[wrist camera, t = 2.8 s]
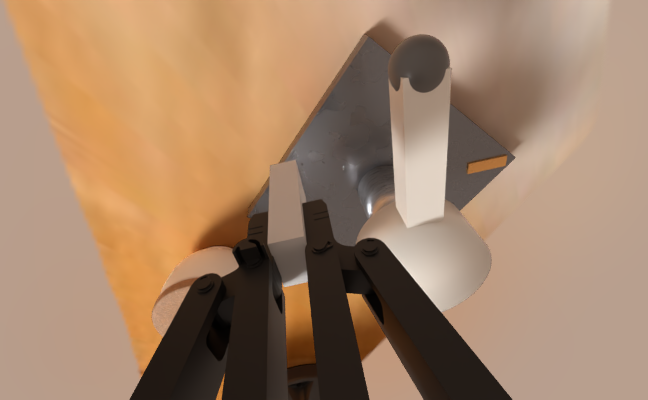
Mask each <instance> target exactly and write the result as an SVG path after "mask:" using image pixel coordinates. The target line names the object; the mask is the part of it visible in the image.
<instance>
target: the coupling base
mask: <svg viewBox="0 0 648 400" xmlns="http://www.w3.org/2000/svg"><path fill="white" fill-rule="evenodd" d="M390 57H391V54H389V53H388V52H387V51H386V50H384V49H383V48H382V47H381V46H380V45H378V44H377V43H376V42H375V41H374V40H372V39H371V38H370V37H369V36H367V35H365V34H364V35H363V36H362V38H361V39H360V41H359V42H358V44H357V45H356V47H355V48H354V50H353V51H352V53H351V54H350V56H349V58H348V59H347V61H346V62H345V64H344V65H343V67H342V68H341V70H340V71H339V73H338V74H337V76H336V77H335V79H334V80H333V82H332V83H331V85H330V86H329V88H328V89H327V91H326V92H325V94H324V95H323V97H322V98H321V100H320V101H319V103H318V104H317V106H316V107H315V109H314V110H313V112H312V113H311V115H310V116H309V118H308V119H307V121H306V122H305V124H304V125H303V127H302V128H301V130H300V131H299V133H298V134H297V136H296V137H295V139H294V140H293V142H292V143H291V145H290V146H289V148H288V150H287V151H286V153H285V154H284V156H283V157H282V159H281V160H280V162H279V163H283V162H288V161H293V160H296V163H297V167H298V171H299V174H300V178H301V182H302V186H303V190H304V193H305V197H306V202H310V201H314V200H319V199H322V200H323V201H324V202H325V203H326V204H327V209H328V213H329V218H330V222H331V227H332V231H333V236H334V238H335V240H336V241H337V242H338V243H340V244H342V245H345V246H355V245H356V240H357V237H358V234H359V232H360V230H361V229H362V227H363V225H364V224H365V223H366V222H367V220H368V219H369V218H370V217H371V216H372V215H373V214H375V213H376V212H377V211H378V210H380V209H381V208H383V207H384V206H386V205H388V204H390V203H392V202H394V201H396V200H395V183H394V166H393V148H392V131H391V113H390V96H389V78H388V63H389V60H390ZM515 158H516V157H515V156H513V155H512V154H511V153H510V152H509V151H507V150H506V149H505V148H504V147H502V146H501V145H500V144H499V143H498V142H496V141H495V140H494V139H493V138H492V137H490V136H489V135H488V134H487V133H485V132H484V131H483V130H482V129H481V128H479V127H478V126H477V125H476V124H474V123H473V122H472V121H471V120H470V119H468V118H467V117H466V116H465V115H464V114H462V113H461V112H460V111H459V110H457V109H456V108H455V107H454V106H453V105H451V104H450V112H449V130H448V148H447V166H446V184H445V199H446V200H447V201H449V202H451V203H452V204H454V205H455V206H456V207H457V208H458V210H459V211H460V210H461V209H462V208H463V207H464V206H465V205H466V204H467V203H469V202H470V201H471V200H472V199H473V198H474V197H475V196H476V195H477V194H478V193H479V192H480V191H481V190H482V189H483V188H484V187H485V186H486V185H487V184H489V183H490V182H491V181H492V180H493V179H494V178H495V177H496V176H497V175H498V174H499V173H500V172H501V171H502V170H503V169H504V168H505V167H506V166H508V165H509V164H510V163H511V162H512V161H513V160H514V159H515ZM279 163H278V164H279ZM269 182H270V177H269V178H268V180H267V181H266V183H265V184H264V186H263V187H262V189H261V190H260V192H259V193H258V195H257V196H256V198H255V199H254V201H253V202H252V204H251V205H250V207H249V208H248V216H247V217H248V218H252V216H253V215H254V214H258V213H263V212H267V211H269Z"/></svg>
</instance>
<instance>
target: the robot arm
mask: <svg viewBox="0 0 648 400" xmlns="http://www.w3.org/2000/svg"><path fill="white" fill-rule="evenodd" d="M232 253H233V255H234V257H235V259H236V261H237V263H238V265H239V267H238V268H237V269H236V270H235V271H233V272H231V273H229V274H227V275H225V276H223V277H220V276H219V275H218V274H215V273H209V274H205V275H203V276H201V277H199V278H198V279H197V280H195V281H194V283H193V284H192V285H191V287H190V289H189V290H188V292H187V294H186V296H185V298H184V300H183V302H182V303H181V305H180V307H179V309H178V311H177V313H176V315H175V316H174V318H173V320H172V322H171V324H170V326H169V327H168V329H167V331H166V333H165V335H164V337H163V339H162V340H161V342H160V344H159V346H158V348H157V350H156V352H155V353H154V355H153V357H152V359H151V361H150V363H149V365H148V366H147V368H146V370H145V372H144V374H143V376H142V377H141V379H140V381H139V383H138V385H137V387H136V389H135V390H134V393H133V394H132V396H131V398H130V400H216V397H217V394H218V391H219V388H220V385H221V382H222V379H223V377H224V374H225V378H224V385H223V393H222V400H369V395H368V391H367V386H366V381H365V377H364V372H363V368H362V363H361V359H360V354H359V349H358V345H357V340H356V336H355V331H354V327H353V322H352V317H351V313H350V308H349V304H348V299H347V295H346V293H354V294H362V297H363V298H364V300H365V302H366V303H367V305H368V307H369V309H370V310H371V312H372V314H373V315H374V317H375V319H376V320H377V322H378V324H379V325H380V327H381V329H382V330H383V332H384V334H385V335H386V337H387V339H388V340H389V342H390V344H391V345H392V347H393V349H394V350H395V352H396V354H397V355H398V357H399V359H400V360H401V362H402V364H403V365H404V367H405V369H406V370H407V372H408V374H409V375H410V377H411V379H412V381H413V382H414V384H415V385H416V387H417V389H418V390H419V392H420V394H421V396H422V397H423V399H424V400H512V398H511V397H510V396H509V395H508V394H507V392H506V391H505V390H504V389H503V388H502V386H501V385H500V384H499V383H498V381H497V380H496V379H495V378H494V376H493V375H492V374H491V373H490V372H489V370H488V369H487V368H486V367H485V365H484V364H483V363H482V362H481V361H480V359H479V358H478V357H477V356H476V354H475V353H474V352H473V351H472V350H471V348H470V347H469V346H468V345H467V343H466V342H465V341H464V340H463V339H462V337H461V336H460V335H459V334H458V332H457V331H456V330H455V329H454V328H453V326H452V325H451V324H450V323H449V321H448V320H447V319H446V318H445V317H444V316H443V314H442V313H441V312H440V310H439V309H438V308H437V307H436V305H435V304H434V303H433V302H432V301H431V299H430V298H429V297H428V296H427V294H426V293H425V292H424V291H423V290H422V288H421V287H420V286H419V285H418V283H417V282H416V281H415V280H414V279H413V277H412V276H411V275H410V274H409V272H408V271H407V270H406V269H405V268H404V266H403V265H402V264H401V263H400V261H399V260H398V259H397V258H396V257H395V255H394V254H393V253H392V252H391V250H390V249H389V248H388V247H387V246H386V244H385V243H384V242H382V241H381V240H379V239H376V238H366V239H362V240H361V241H359V242H357V244H356V245H355V246H345V245H342V244H340V243H338V242H337V241H336V240H335V238H334V236H333V231H332V227H331V222H330V218H329V213H328V209H327V204H326V203H325V202H324V201H323V200H322V199H319V200H314V201H310V202H306V197H305V193H304V190H303V186H302V182H301V178H300V174H299V171H298V167H297V163H296V160H293V161H288V162H283V163H279V164H274V165H270V182H269V211H267V212H263V213H258V214H254V215H253V216H252V218H251V219H250V221H249V226H248V236H247V238H246V239H243V240H242V241H240V242H239V243H237V244H236V245H235V247H234V248H233V251H232ZM282 282H283V285H284V287H287V286H292V285H296V284H301V283H305V282H308V287H309V297H310V307H311V317H312V327H313V336H314V346H315V356H316V364H311V365H302V366H297V367H293V368H290V369H287V353H286V320H285V296H284V293H283V290H282Z"/></svg>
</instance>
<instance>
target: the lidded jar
mask: <svg viewBox="0 0 648 400" xmlns="http://www.w3.org/2000/svg"><path fill="white" fill-rule="evenodd" d="M232 251H233V248H230V247H226V246H213V247H208V248H206V249H203V250H199V251H197V252H194V253H192V254H191V255H189V256H187V257H186V258H184V259H183V260H182V261H181V262H180V263H179V264H178V265H177V266H176V267H175V268H174V269H173V271H172V272H171V274H170V275H169V277H168V278H167V280H166V282H165V284H164V286H163V288H162V290H161V293H160V296H159V297H158V299H157V300H156V303H155V305H154V308H153V311H152V321H153V324H154V326H155V328H156V330H157V331H158V333H159V334H160V335H161V336H163V337H164V335H165V333H166V331H167V329H168V327H169V326H170V324H171V322H172V320H173V318H174V316H175V315H176V313H177V311H178V309H179V307H180V305H181V303H182V302H183V300H184V298H185V296H186V294H187V292H188V290H189V289H190V287H191V285H192V284H193V283H194V281H195V280H197V279H198V278H199V277H201V276H203V275H205V274H209V273H215V274H218V275H219V276H220V277H223V276H225V275H227V274H229V273H231V272H233V271H235V270H236V269H237V268H238V267H239V265H238V263H237V261H236V259H235V257H234V255H233V253H232Z"/></svg>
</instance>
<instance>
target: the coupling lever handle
mask: <svg viewBox="0 0 648 400" xmlns="http://www.w3.org/2000/svg"><path fill="white" fill-rule="evenodd" d="M451 75H452V68H451V67H450V59H449V54H448V51H447V49H446V47H445V46H444V45H443V44H442V42H441V41H439V40H438V39H436V38H435V37H433V36H430V35H415V36H411V37H409V38H407V39H405V40H404V41H402V42H401V43H400V44H399V45H398V46H397V47H396V48H395V50H394V51H393V53H392V55H391V57H390V60H389V63H388V78H389V96H390V113H391V131H392V148H393V166H394V183H395V200H396V201H394V202H392V203H390V204H388V205H386V206H384V207H383V208H381V209H380V210H378V211H377V212H376V213H375V214H373V215H372V216H371V217H370V218H369V219H368V220H367V222H366V223H365V224H364V225H363V227H362V229H361V230H360V232H359V234H358V237H357V240H356V244H357V242H359V241H361V240H362V239H366V238H376V239H379V240H381V241H382V242H384V243H385V244H386V246H387V247H388V248H389V249H390V250H391V252H392V253H393V254H394V255H395V257H396V258H397V259H398V260H399V261H400V263H401V264H402V265H403V266H404V268H405V269H406V270H407V271H408V272H409V274H410V275H411V276H412V277H413V279H414V280H415V281H416V282H417V283H418V285H419V286H420V287H421V288H422V290H423V291H424V292H425V293H426V294H427V296H428V297H429V298H430V299H431V301H432V302H433V303H434V304H435V305H436V307H437V308H438V309H439V310H440V312H443V311H446V310H448V309H450V308H452V307H455V306H456V305H458V304H459V303H461V302H463V301H464V300H466V299H467V298H469V297H470V296H471V295H472V294H473V293H474V292H475V291H476V290H477V289H478V288H479V287H480V286H481V285H482V284H483V282H484V281H485V279H486V277H487V275H488V273H489V271H490V268H491V261H492V259H491V253H490V250H489V248H488V246H487V244H486V243H485V242H484V241H483V239H482V238H481V237H480V236H479V234H478V233H477V232H476V231H475V229H474V228H473V227H472V226H471V224H470V223H469V222H468V221H467V219H466V218H465V217H464V216H463V215H462V213H461V212H460V211H459V210H458V208H457V207H456V206H455V205H454V204H452V203H451V202H449V201H447V200H446V199H445V184H446V166H447V148H448V130H449V112H450V94H451Z"/></svg>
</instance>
